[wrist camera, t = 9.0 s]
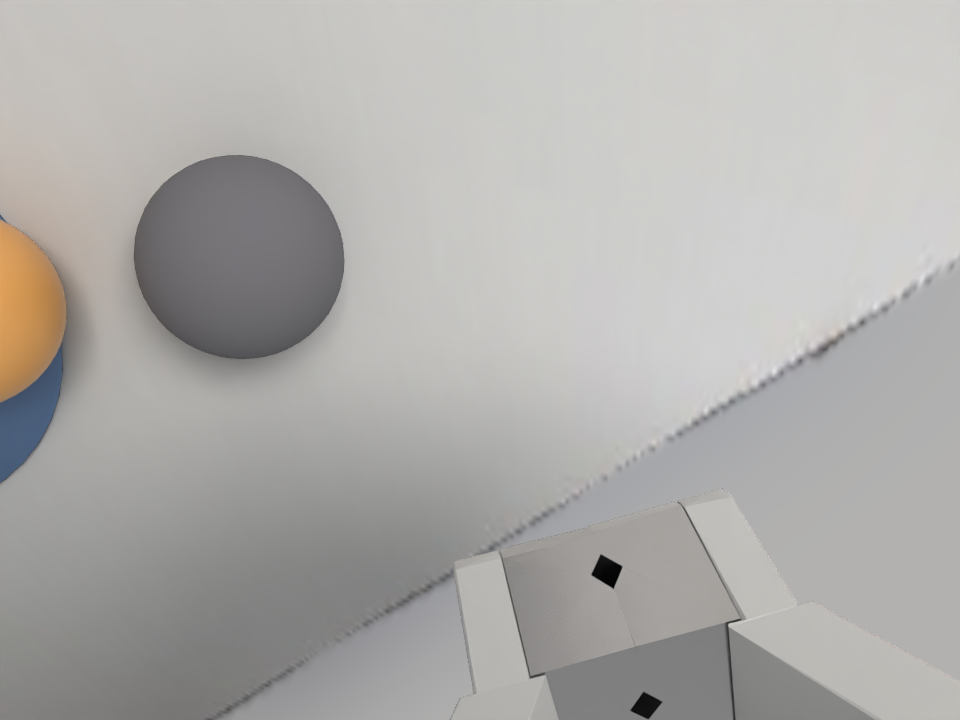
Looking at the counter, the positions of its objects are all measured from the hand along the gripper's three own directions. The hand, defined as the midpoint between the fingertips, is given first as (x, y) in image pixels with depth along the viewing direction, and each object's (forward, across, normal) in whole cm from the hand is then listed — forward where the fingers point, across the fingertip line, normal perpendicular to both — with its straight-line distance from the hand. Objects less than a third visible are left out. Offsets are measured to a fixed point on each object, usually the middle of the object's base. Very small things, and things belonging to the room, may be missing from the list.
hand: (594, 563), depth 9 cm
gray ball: (+13, +6, +1) cm, 14 cm away
